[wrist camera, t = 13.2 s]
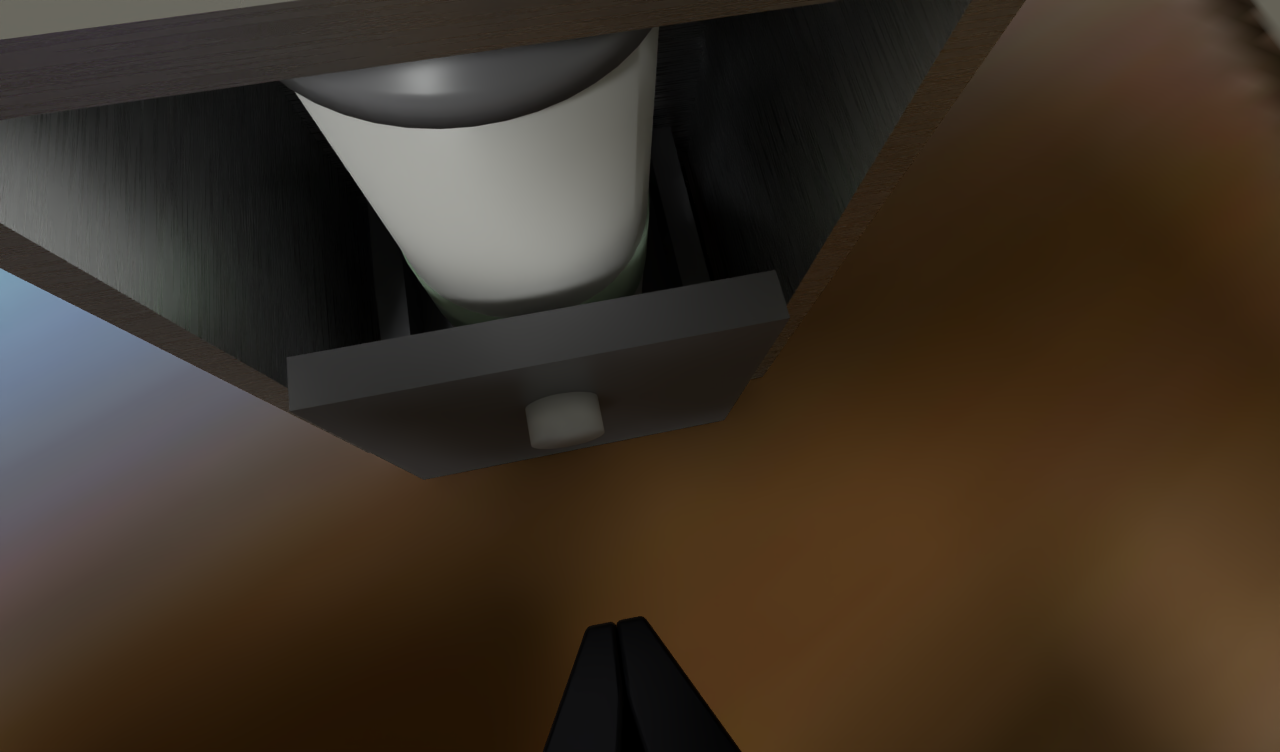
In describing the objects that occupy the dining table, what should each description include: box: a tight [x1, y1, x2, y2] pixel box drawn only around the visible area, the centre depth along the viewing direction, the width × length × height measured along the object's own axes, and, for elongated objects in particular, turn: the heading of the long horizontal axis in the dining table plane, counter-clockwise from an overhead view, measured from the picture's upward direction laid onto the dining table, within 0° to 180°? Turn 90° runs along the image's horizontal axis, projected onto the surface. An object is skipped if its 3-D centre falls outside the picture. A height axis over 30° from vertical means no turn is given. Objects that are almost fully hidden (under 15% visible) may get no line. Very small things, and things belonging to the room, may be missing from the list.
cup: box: [279, 27, 659, 328], centre depth 14 cm, size 6×6×12 cm
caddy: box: [0, 0, 1026, 453], centre depth 14 cm, size 9×12×15 cm
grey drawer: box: [287, 127, 790, 480], centre depth 17 cm, size 10×10×8 cm
